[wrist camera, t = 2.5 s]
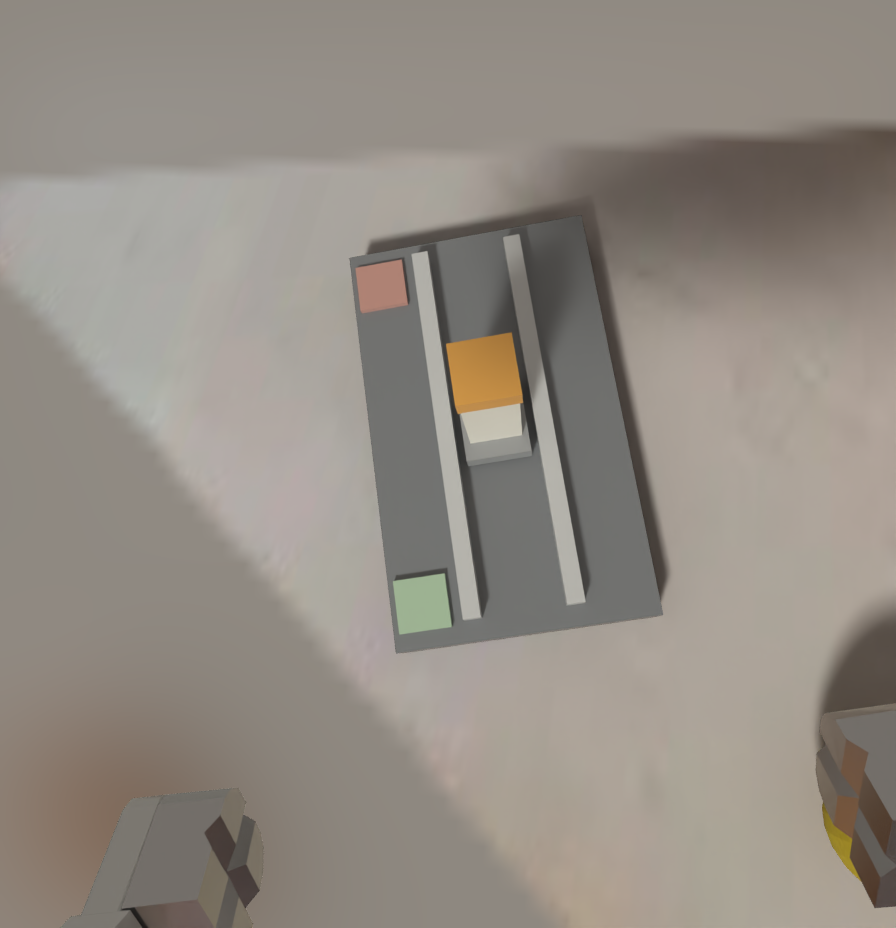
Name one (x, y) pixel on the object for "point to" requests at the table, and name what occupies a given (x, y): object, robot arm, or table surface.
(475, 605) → the switch panel
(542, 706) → the table surface
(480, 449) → the breaker lever
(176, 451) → the table surface
